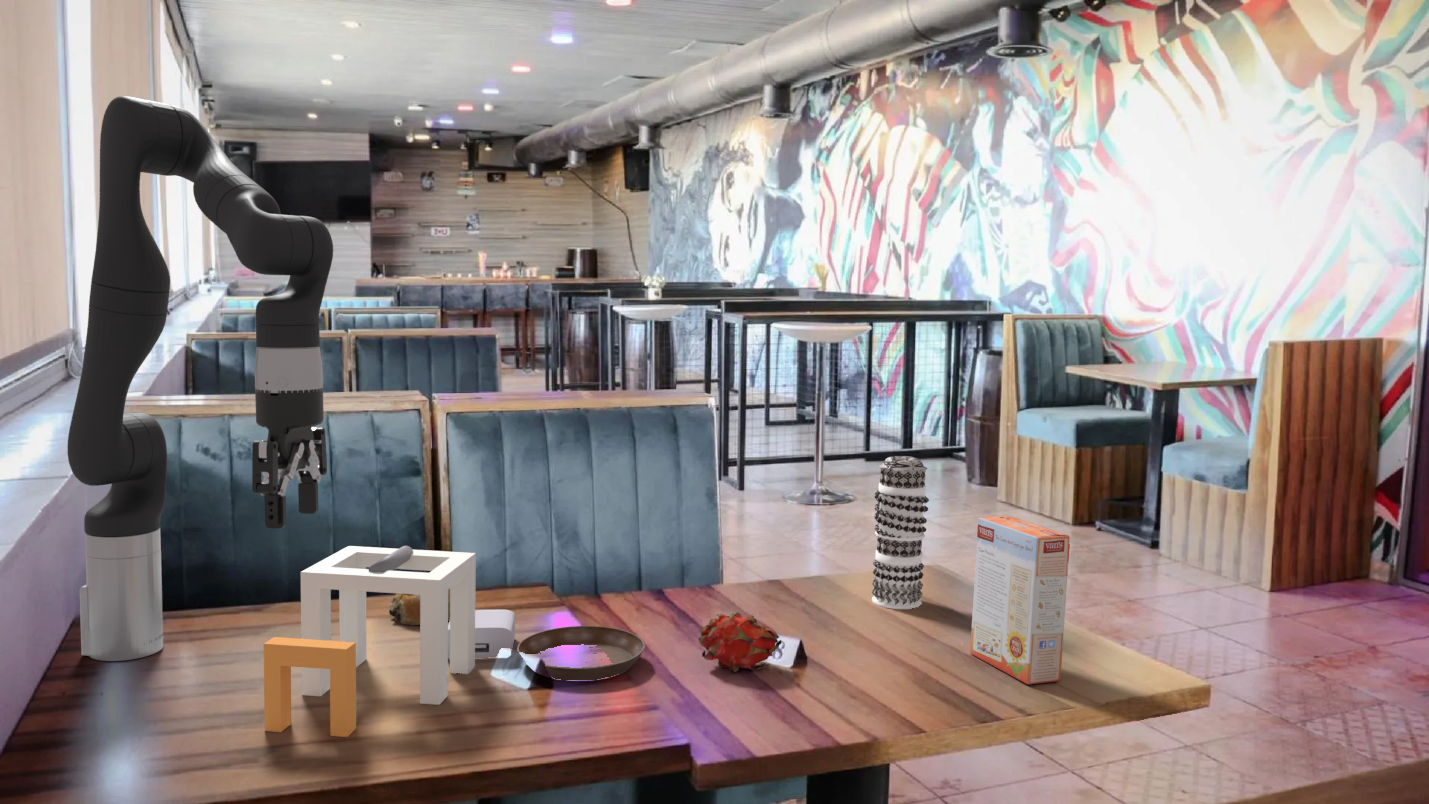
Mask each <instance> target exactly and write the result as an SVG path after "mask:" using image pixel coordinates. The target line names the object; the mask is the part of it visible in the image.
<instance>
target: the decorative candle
mask: <svg viewBox="0 0 1429 804" xmlns="http://www.w3.org/2000/svg"><path fill="white" fill-rule="evenodd" d="M878 467H879V468H880V477H879V483H878V489H877V491H876V492H875V493H874V499H876V501H877V503H875V505H874V511H875V514H874V516H873V518H874V520H875V522H877V523H876V524H875V525H874V534H875V536H876V537H877V542H876V549H875V557H874V558H875V559H874V560H873V562H872V565H873V566H874V569H873V571H872V574H873V575H874V576H875V577H874V578H873V579H872V580H871V584H872V586H873V588H872V589H871V593H872V595H873V596H872V597H871V601H872V603H873V604H874V605H877V606H879V607H882V608H886V609H894V610H911V609H912V608H914V609H916V608H915V607H917V608H920V607H921V606H920V605H922V603H923V602H922V600H921V599H922V596H923V592H922V590H923V587H924V583H922V581H921V579H923V578H924V573H923V572H922V570H923V569H924V568H925V564H923V551H922V548H923V542H922V540H924V538H926V534H925V532H926V531H927V528H926V527H925V526H924V524H926V523H927V522H928V521H927V518H925V517H924V514H925V513H926V512H928V511H929V507H928V506H927V505H926V504H927V503H928V502H929V501H930V499H929V498H928V497H927V496H926V494H927V493H926V492H927V485H926V470H928V467H926V466H925V465H924V464H923V461H922V460H921V459H920V458H917V457H916V456H915V457H914V456H910V455H909V456H907V455H892V456H889V457H887V458H885V460H884V462H883V463H882V464H878ZM919 606H920V607H919Z"/></svg>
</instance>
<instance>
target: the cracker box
mask: <svg viewBox="0 0 1429 804" xmlns="http://www.w3.org/2000/svg"><path fill="white" fill-rule="evenodd" d="M977 520H978V521H977V532H976V533H977V536H976V537H977V538H976V552H975V567H974V568H975V569H974V584H973V587H974V588H973V600H972V613H971V614H972V617H971V618H972V619H971V633H970V649H969V650H970V651H969V653H970V654H971V655H972V656H974V657H976V658H978V659H980V660H981V661H983V662H985V663H987V664H989V665H991V666H993V667H995V668H996V669H998V670H1000V671H1002V672H1004V673H1005V674H1008V675H1009V676H1011V677H1013V678H1015V679H1017V680H1019V681H1021V683H1024V684H1026V685H1035V684H1036V685H1037V684H1045V683H1054V682H1060V681H1061V676H1062V674H1061V673H1062V662H1063V647H1064V646H1063V645H1064V635H1065V634H1064V631H1065V620H1066V618H1065V617H1066V616H1065V615H1066V603H1067V591H1068V589H1067V588H1068V587H1067V586H1068V574H1069V573H1068V572H1069V564H1070V563H1069V559H1070V548H1071V547H1070V546H1071V536H1070V535H1069V534H1065V533H1063V532H1060V531H1056V530H1054V529H1050V528H1047V527H1044V526H1041V525H1037V524H1034V523H1032V522H1029V521H1026V520H1023V519H1020V518H1016V517H1014V516H1010V515H997V516H996V515H994V516H993V515H992V516H981V517H978V519H977Z"/></svg>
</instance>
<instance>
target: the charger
mask: <svg viewBox="0 0 1429 804" xmlns="http://www.w3.org/2000/svg"><path fill="white" fill-rule="evenodd" d="M515 637H516V613H515V612H514V611H512V610H509V609H475V658H488V657H496V656H497V654H498V653H499V650H500V649H501V648H510V649H512V648H513V647H514V641H515ZM512 650H513V649H512ZM449 659H450V621H449V622H448V660H449Z"/></svg>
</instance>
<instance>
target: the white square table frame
mask: <svg viewBox="0 0 1429 804" xmlns="http://www.w3.org/2000/svg"><path fill="white" fill-rule="evenodd" d="M476 559H477V558H476V552H463V551H446V550H430V549H426V550H425V549H413V548H412V547H410V546H408V545H403V546H401V547H399V548H395V547H393V548H391V547H390V548H389V547H377V546H376V547H374V546H373V547H372V546H360V545H359V546H358V545H356V546H355V545H348V546H346V547H344V548H342V549H340V550H339V551H337V552H335V553H333V554H331V555H330V556H328V557H325V558H323V559H322V560H320V561H318V562H316V563H314V564H313V565H311V566H309V567H307V568H305V569H304V570H302V571H300V632H301V634H300V636H301V637H300V639H313V640H328V641H332V615H331V613H332V612H331V610H332V608H331V607H332V605H331V604H332V602H331V601H332V599H331V597H332V596H331V594H332V593H331V592H332V590H335V591H336V590H337V591H339V593H338V595H339V597H338V599H339V601H338V602H339V610H338V611H339V641H343V642H356V668H358V667H359V666H360V665H362V664H363V663H364V662H365V661H367V592H369V593H370V592H371V593H382V594H383V593H386V594H397V593H400V594H416V595H420V626H419V651H420V653H419V679H420V680H419V704H421V705H422V704H423V705H438V706H440V705H441V704H442V703H443V702H444V701H445V700H446V698H447V697H448V696H449V695H448V683H449V681H448V680H449V679H448V676H449V674H448V673H450V672H452V673H451V674H456V673H460V674H461V673H462V674H461V675H469V674H470V672H472V670H473V669H474V668H475V667H476V659H475V610H476V570H477V569H476V568H477V567H476V566H477V565H476V563H477V562H476V561H477V560H476ZM402 570H403V571H402ZM405 570H408V571H405ZM410 570H411V571H410ZM423 571H424V572H423ZM426 571H428V572H426ZM429 571H430V572H429ZM449 588H450V660H449V659H448V624H449V622H448V589H449ZM448 666H449V667H448ZM474 666H475V667H474ZM473 667H474V668H473ZM472 668H473V669H472ZM453 672H454V673H453ZM468 673H469V674H468ZM460 674H459V675H460ZM328 691H330V669H320V668H306V667H301V696H307V697H308V696H310V697H322V696H323V695H324V694H326V693H327V692H328Z"/></svg>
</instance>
